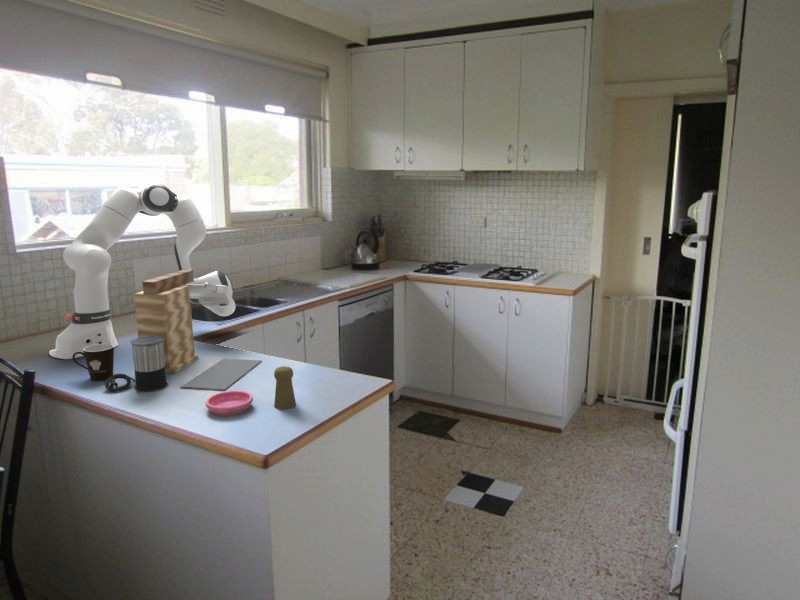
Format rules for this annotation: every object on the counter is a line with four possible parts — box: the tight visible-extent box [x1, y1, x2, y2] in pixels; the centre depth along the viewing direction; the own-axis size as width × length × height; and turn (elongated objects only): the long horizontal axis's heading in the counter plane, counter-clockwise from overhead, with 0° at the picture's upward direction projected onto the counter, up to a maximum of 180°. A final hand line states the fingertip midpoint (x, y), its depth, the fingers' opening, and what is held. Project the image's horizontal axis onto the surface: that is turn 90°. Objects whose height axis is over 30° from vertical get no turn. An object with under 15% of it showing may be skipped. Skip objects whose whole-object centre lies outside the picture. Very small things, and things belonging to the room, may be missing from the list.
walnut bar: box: [142, 269, 195, 294], centre depth 191 cm, size 24×4×4 cm, turn 171°
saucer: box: [205, 390, 254, 417], centre depth 156 cm, size 12×12×3 cm
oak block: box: [133, 286, 200, 375], centre depth 190 cm, size 16×13×26 cm
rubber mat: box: [180, 358, 262, 392], centre depth 184 cm, size 28×14×1 cm, turn 171°
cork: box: [273, 366, 297, 410], centre depth 157 cm, size 6×6×11 cm
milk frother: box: [104, 336, 169, 393], centre depth 170 cm, size 14×16×15 cm
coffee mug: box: [72, 344, 115, 382], centre depth 180 cm, size 12×9×10 cm
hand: (194, 284), depth 207 cm, fingers open, 8 cm apart
